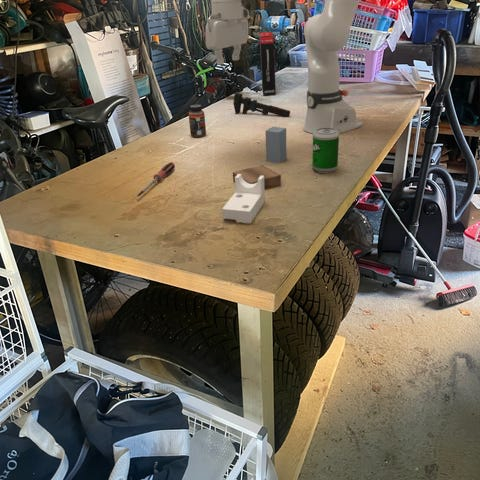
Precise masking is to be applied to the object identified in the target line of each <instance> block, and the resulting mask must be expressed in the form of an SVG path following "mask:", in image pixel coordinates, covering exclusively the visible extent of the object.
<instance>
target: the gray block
mask: <svg viewBox="0 0 480 480" xmlns="http://www.w3.org/2000/svg"><path fill="white" fill-rule="evenodd" d="M265 149H266V150H265V157H266V161H265V162H268V163H274V164H282V163H283V162H284V161H286V160H287V158H288V157H287V156H288V154H287V127H280V126H279V127H278V126H271V127H269V128H268V129H266V130H265Z"/></svg>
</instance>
